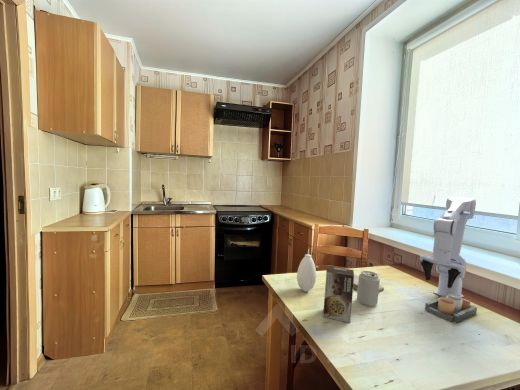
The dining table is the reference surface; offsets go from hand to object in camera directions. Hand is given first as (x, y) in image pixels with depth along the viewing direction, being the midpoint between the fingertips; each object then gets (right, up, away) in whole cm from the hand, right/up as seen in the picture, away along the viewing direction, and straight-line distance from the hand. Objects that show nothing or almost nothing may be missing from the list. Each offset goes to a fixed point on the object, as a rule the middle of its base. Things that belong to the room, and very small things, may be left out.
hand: (438, 283), depth 100 cm
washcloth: (-24, -8, +17) cm, 31 cm away
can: (-28, -8, 0) cm, 29 cm away
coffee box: (-44, -7, -12) cm, 46 cm away
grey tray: (+2, -10, -3) cm, 11 cm away
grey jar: (+5, -10, -2) cm, 11 cm away
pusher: (+8, -10, 0) cm, 13 cm away
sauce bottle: (-51, -6, +7) cm, 52 cm away
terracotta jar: (-1, -10, -5) cm, 11 cm away
